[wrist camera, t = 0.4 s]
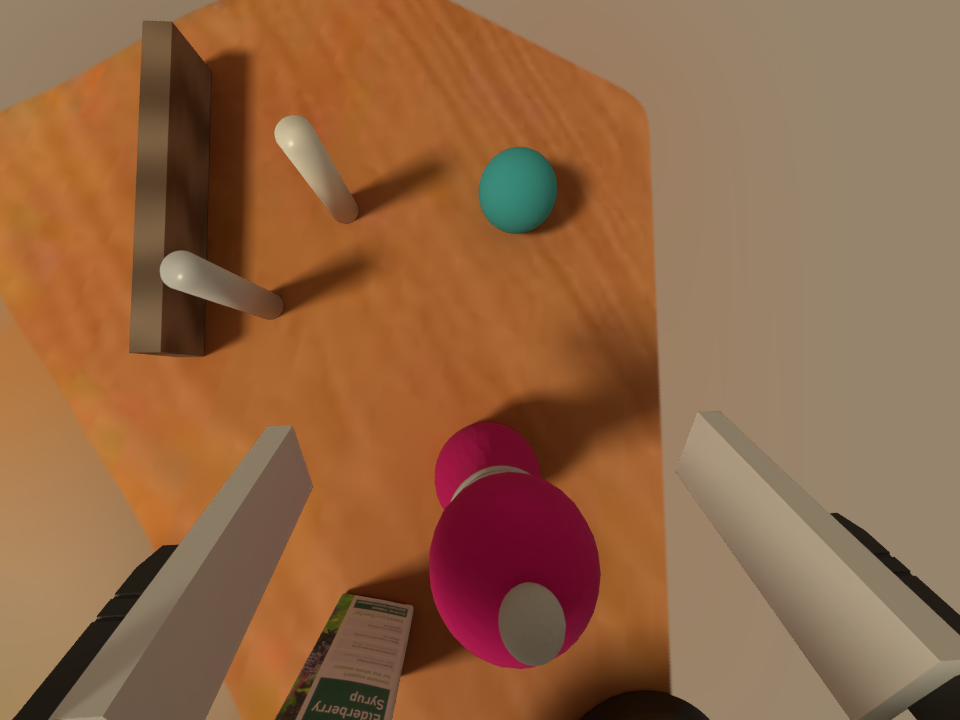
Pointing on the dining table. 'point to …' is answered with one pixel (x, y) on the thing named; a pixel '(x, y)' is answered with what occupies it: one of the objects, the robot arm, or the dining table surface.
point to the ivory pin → (316, 166)
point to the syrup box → (353, 663)
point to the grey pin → (218, 285)
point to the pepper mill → (509, 552)
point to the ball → (517, 190)
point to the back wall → (169, 191)
